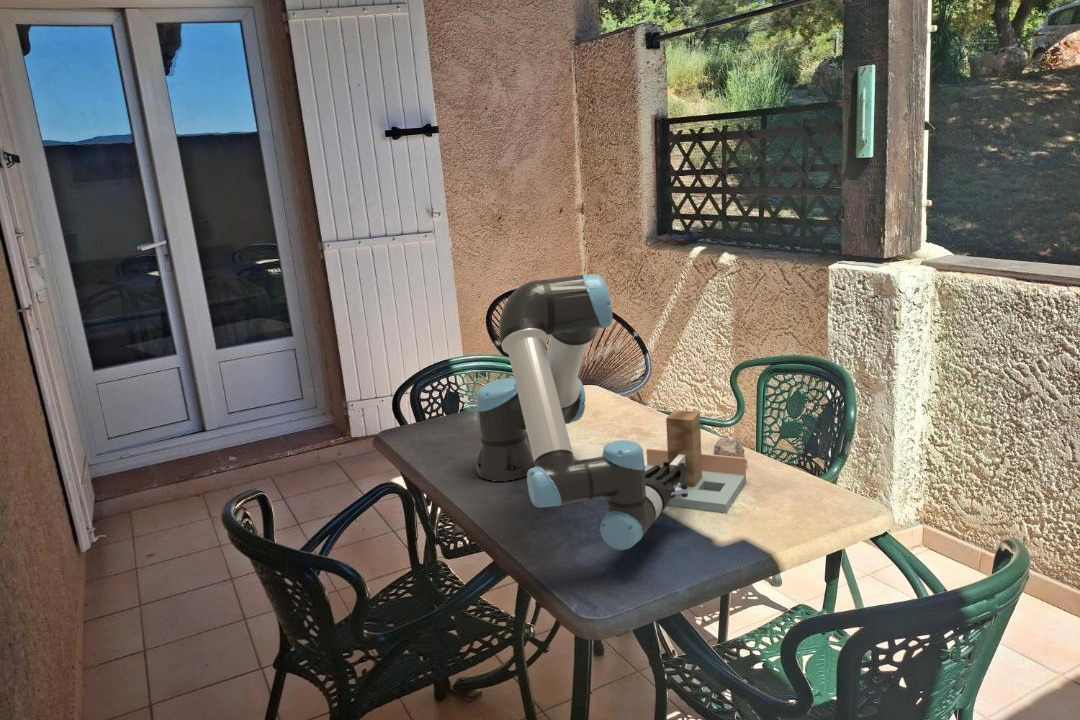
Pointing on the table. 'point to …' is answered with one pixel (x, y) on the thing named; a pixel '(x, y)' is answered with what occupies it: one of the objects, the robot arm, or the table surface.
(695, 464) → the walnut block
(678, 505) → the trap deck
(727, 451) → the mineral specimen
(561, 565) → the table surface
